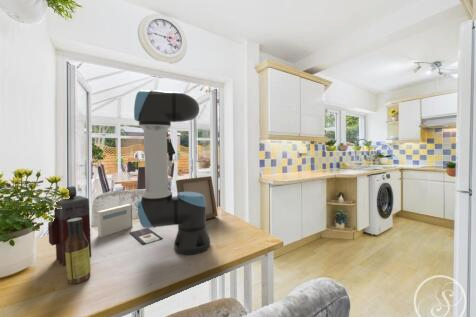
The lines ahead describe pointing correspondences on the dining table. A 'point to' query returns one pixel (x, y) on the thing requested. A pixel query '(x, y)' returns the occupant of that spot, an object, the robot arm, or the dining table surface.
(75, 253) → the sauce bottle
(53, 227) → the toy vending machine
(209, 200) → the photo frame
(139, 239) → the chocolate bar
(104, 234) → the white slotted box
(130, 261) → the dining table surface
